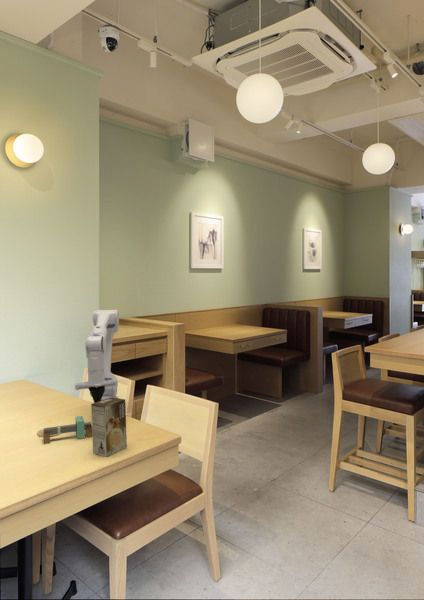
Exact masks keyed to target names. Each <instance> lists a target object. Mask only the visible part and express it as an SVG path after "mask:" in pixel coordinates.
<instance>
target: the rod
mask: <svg viewBox="0 0 424 600" xmlns="http://www.w3.org/2000/svg"><path fill="white" fill-rule="evenodd" d="M84 428H85V437H86V438H93V436H92V421H89V422H88V421H87V422H84ZM43 429H44V430H43V437H42V439H43V444H44V445H47V444H50V443H51V437H50V435H55V434H58V435H57V436H60V435H61V434H68V433H74V432H75V433H76V431H77V424H76V423H73V424H67V425H66V424H65V425H57V426H50V427H44V428H43ZM59 434H60V435H59Z"/></svg>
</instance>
